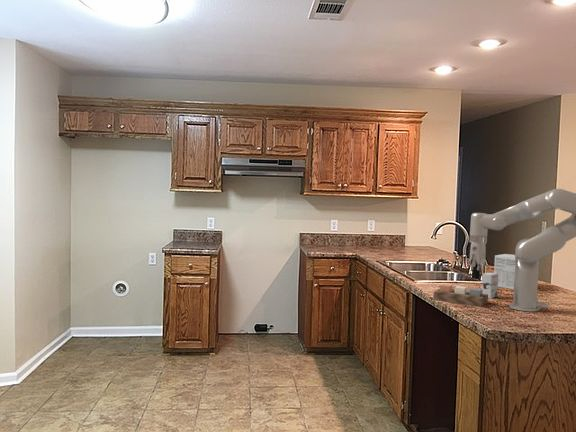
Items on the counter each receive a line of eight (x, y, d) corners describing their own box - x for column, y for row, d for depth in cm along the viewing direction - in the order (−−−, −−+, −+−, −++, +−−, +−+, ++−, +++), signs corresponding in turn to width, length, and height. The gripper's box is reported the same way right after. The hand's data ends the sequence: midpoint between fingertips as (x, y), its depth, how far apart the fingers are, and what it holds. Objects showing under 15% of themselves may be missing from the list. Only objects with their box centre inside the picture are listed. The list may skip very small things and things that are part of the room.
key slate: (482, 297, 227) (482, 289, 227) (479, 299, 223) (480, 290, 223) (472, 296, 230) (472, 287, 230) (469, 297, 226) (469, 289, 226)
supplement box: (516, 290, 262) (518, 258, 261) (492, 286, 272) (494, 255, 271) (527, 287, 271) (528, 256, 270) (503, 283, 281) (505, 253, 280)
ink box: (488, 294, 248) (489, 271, 247) (497, 296, 244) (498, 273, 244) (480, 297, 242) (481, 273, 241) (490, 298, 238) (491, 275, 238)
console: (487, 302, 229) (488, 294, 229) (481, 307, 219) (481, 298, 219) (441, 295, 242) (442, 287, 242) (433, 299, 232) (433, 291, 232)
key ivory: (467, 295, 231) (467, 287, 231) (464, 297, 227) (464, 288, 227) (457, 294, 234) (457, 285, 234) (454, 295, 230) (454, 287, 230)
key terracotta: (452, 293, 235) (452, 285, 235) (449, 294, 232) (449, 286, 231) (442, 291, 238) (443, 283, 238) (439, 293, 234) (440, 285, 234)
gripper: (482, 241, 217) (479, 281, 218) (490, 239, 229) (488, 277, 230) (465, 239, 221) (462, 279, 222) (474, 237, 233) (471, 275, 235)
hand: (475, 278), depth 226 cm, fingers closed
